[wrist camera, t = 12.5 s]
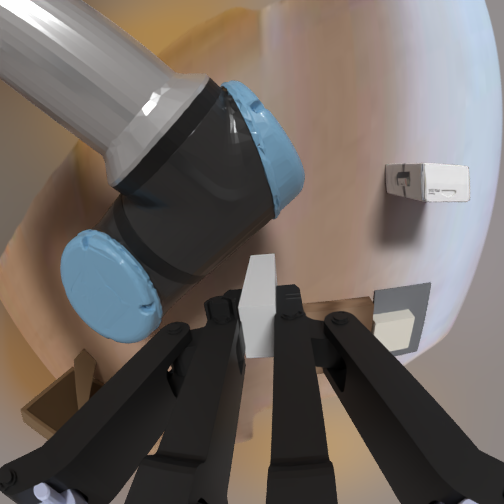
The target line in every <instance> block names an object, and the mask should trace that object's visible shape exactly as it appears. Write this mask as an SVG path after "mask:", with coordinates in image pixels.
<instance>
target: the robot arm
mask: <svg viewBox="0 0 504 504" xmlns="http://www.w3.org/2000/svg"><path fill="white" fill-rule="evenodd" d="M0 79H1V80H2V81H4V82H5V83H6V84H8V85H9V86H10V87H12V88H13V89H14V90H15V91H17V92H18V93H19V94H21V95H22V96H23V97H25V98H26V99H27V100H28V101H30V102H31V103H32V104H34V105H35V106H36V107H38V108H39V109H40V110H42V111H43V112H44V113H46V114H47V115H48V116H50V117H51V118H52V119H54V120H55V121H57V122H58V123H59V124H60V125H62V126H63V127H64V128H66V129H67V130H68V131H70V132H71V133H72V134H74V135H75V136H76V137H78V138H79V139H80V140H82V141H83V142H84V143H86V144H87V145H88V146H90V147H91V148H93V149H94V150H95V151H97V152H98V153H99V154H101V155H102V156H103V158H104V161H105V165H106V172H107V180H108V184H109V185H110V186H111V187H113V188H114V189H115V190H117V191H118V192H120V193H121V194H120V195H119V197H118V198H117V199H116V200H115V202H114V203H113V204H112V206H111V207H110V208H109V210H108V211H107V212H106V214H105V215H104V217H103V218H102V219H101V221H100V222H99V223H98V224H97V225H96V226H95V227H94V228H92V229H89V230H85V231H82V232H81V233H78V235H77V236H76V237H75V238H73V239H72V240H71V241H70V242H69V243H68V244H67V245H66V247H65V249H64V251H63V254H62V258H61V266H60V270H61V279H62V283H63V285H64V288H65V291H66V295H67V297H68V299H69V301H70V303H71V305H72V306H73V308H74V310H75V311H76V312H77V314H78V315H79V316H80V317H81V319H82V320H83V321H84V322H85V323H86V324H87V325H88V326H89V327H91V328H92V329H93V330H94V331H96V332H97V333H99V334H100V335H102V336H104V337H106V338H108V339H113V340H114V341H116V342H120V343H135V342H139V341H142V340H143V339H145V338H147V337H148V336H149V335H150V334H151V332H153V331H154V330H156V329H157V328H158V327H159V325H160V322H161V321H162V320H161V319H162V317H163V316H164V314H165V313H166V312H167V311H168V310H169V309H170V308H171V307H172V306H173V305H174V304H175V303H176V302H177V301H178V300H179V299H180V298H181V297H182V296H183V295H185V294H186V293H187V292H188V291H189V290H190V289H191V288H192V287H194V286H195V285H196V284H197V283H198V282H199V281H200V280H201V279H202V278H203V277H205V276H206V275H207V274H209V273H210V272H211V271H212V270H214V269H215V268H216V267H217V266H218V265H219V264H220V263H222V262H223V261H224V260H225V259H226V258H227V257H229V256H230V255H231V254H232V253H233V252H234V251H235V250H237V249H238V248H239V247H240V246H241V245H242V244H244V243H245V242H246V241H247V240H248V239H249V238H250V237H252V236H253V235H254V234H255V233H256V232H257V231H259V230H260V229H261V228H262V227H263V226H264V225H266V224H267V223H268V222H269V221H270V220H271V219H276V218H277V217H278V215H279V214H280V211H281V210H282V209H283V208H284V207H285V206H286V205H288V204H289V203H290V202H291V201H292V200H293V199H294V198H295V197H296V196H297V195H298V194H299V193H300V192H301V190H302V188H303V184H304V180H305V174H304V169H303V166H302V163H301V160H300V158H299V156H298V154H297V152H296V150H295V148H294V146H293V144H292V143H291V141H290V139H289V138H288V136H287V135H286V133H285V132H284V130H283V129H282V127H281V126H280V124H279V123H278V121H277V120H276V119H275V117H274V116H273V115H272V114H271V112H270V111H269V110H267V109H265V108H264V106H263V104H262V103H261V102H260V100H259V99H258V98H257V96H256V95H255V94H254V93H253V92H252V91H251V90H250V89H249V88H248V87H246V86H245V85H244V84H242V83H241V82H239V81H233V80H232V81H229V82H224V83H223V84H222V85H221V87H219V86H218V85H217V84H216V83H215V82H214V81H213V80H212V79H211V78H210V77H209V76H208V75H207V74H181V73H176V72H174V71H173V70H172V69H171V68H170V67H169V66H167V65H166V64H165V63H164V62H163V61H162V60H160V59H159V58H158V57H157V56H156V55H154V54H153V53H152V52H151V51H150V50H148V49H147V48H146V47H145V46H143V45H142V44H141V43H140V42H138V41H137V40H136V39H135V38H133V37H132V36H131V35H129V34H128V33H127V32H126V31H124V30H123V29H122V28H120V27H119V26H117V25H116V24H115V23H113V22H112V21H111V20H109V19H108V18H107V17H105V16H104V15H102V14H101V13H100V12H98V11H97V10H95V9H94V8H92V7H91V6H89V5H88V4H86V3H85V2H83V1H82V0H0ZM204 306H205V311H206V316H207V320H208V321H207V323H206V326H205V327H202V328H198V329H193V330H190V327H189V325H188V324H187V323H183V322H175V323H174V322H173V323H171V324H168V325H166V326H165V327H163V328H162V329H161V330H160V331H159V332H158V333H157V334H156V335H155V336H154V337H153V338H152V339H151V340H150V341H149V342H148V343H147V344H146V345H144V346H143V347H142V348H141V349H140V350H139V351H138V352H137V353H136V354H135V355H134V356H133V357H132V358H131V359H130V360H129V361H128V362H127V363H126V364H125V365H124V366H123V367H122V368H121V369H120V370H119V371H118V372H117V373H116V374H115V375H114V376H113V377H112V378H111V379H110V380H109V381H108V382H106V383H105V384H104V385H103V386H102V387H101V388H100V389H99V390H98V391H97V392H96V393H95V394H94V395H93V396H92V397H91V398H90V399H89V400H88V401H87V402H86V403H85V404H84V405H83V406H82V407H81V408H80V409H79V410H78V411H77V412H76V413H75V414H74V415H73V416H72V417H71V418H70V419H69V420H68V421H67V422H66V423H65V424H64V425H63V426H62V427H61V428H60V429H59V430H58V431H57V432H56V433H55V434H54V435H53V436H52V437H51V438H50V439H49V440H48V441H47V442H46V443H45V444H44V445H43V446H42V447H40V448H38V449H36V450H34V451H32V452H30V453H28V454H26V455H24V456H22V457H20V458H18V459H16V460H13V461H11V462H9V463H7V464H5V465H4V466H2V467H1V468H0V491H2V493H4V494H5V495H6V496H7V497H9V498H10V499H12V500H13V501H14V502H16V503H17V504H109V503H110V502H111V501H112V500H113V499H114V498H115V496H116V495H117V494H118V493H119V492H120V490H121V489H122V488H123V486H124V485H125V484H126V482H127V481H128V480H129V479H130V477H131V476H132V475H133V473H134V472H135V471H136V469H137V468H138V470H137V472H136V475H135V477H134V480H133V482H132V485H131V487H130V490H129V493H128V495H127V498H126V500H125V503H124V504H228V501H227V490H228V483H229V477H230V471H231V464H232V457H233V451H234V444H235V437H236V430H237V423H238V416H239V409H240V402H241V395H242V388H243V381H244V374H245V367H246V364H245V359H244V355H245V352H246V358H262V357H274V374H273V413H272V415H273V416H272V441H271V462H270V466H269V469H268V479H267V495H266V504H338V502H337V492H336V483H335V475H334V468H333V464H332V462H331V461H330V460H329V455H328V448H327V441H326V433H325V426H324V418H323V411H322V404H321V398H320V391H319V385H318V379H317V373H316V367H322V369H323V372H324V374H325V376H326V377H327V379H328V381H329V382H330V384H331V386H332V388H333V389H334V391H335V393H336V394H337V396H338V398H339V399H340V401H341V403H342V405H343V406H344V408H345V410H346V411H347V413H348V415H349V416H350V418H351V420H352V422H353V423H354V425H355V427H356V428H357V430H358V432H359V434H360V435H361V437H362V438H363V440H364V442H365V444H366V445H367V447H368V449H369V451H370V452H371V454H372V456H373V457H374V459H375V461H376V462H377V464H378V466H379V468H380V469H381V471H382V473H383V474H384V476H385V478H386V479H387V481H388V483H389V485H390V486H391V488H392V490H393V491H394V493H395V495H396V497H397V498H398V500H399V501H400V503H401V504H504V462H502V461H500V460H498V459H496V458H494V457H492V456H489V455H488V454H486V453H484V452H482V451H480V450H479V449H478V448H477V447H476V446H475V445H474V444H473V442H472V441H471V440H470V439H469V438H468V437H467V435H466V434H465V433H464V432H463V431H462V430H461V428H460V427H459V426H458V425H457V424H456V423H455V422H454V420H453V419H452V418H451V417H450V416H449V415H448V414H447V413H446V412H445V411H444V409H443V408H442V407H441V406H440V405H439V404H438V403H437V402H436V401H435V399H434V398H433V397H432V396H431V395H430V394H429V393H428V392H427V391H426V390H425V389H424V387H423V386H422V385H421V384H420V383H419V382H418V381H417V380H416V379H415V378H414V377H413V376H412V375H411V373H410V372H409V371H408V370H407V369H406V368H405V367H404V366H403V365H402V364H401V363H400V362H399V361H398V360H397V359H396V358H395V357H394V356H393V355H392V353H391V352H390V351H389V350H388V349H387V348H386V347H385V346H384V345H383V344H382V343H381V342H380V341H379V340H378V339H377V338H376V337H375V336H374V335H373V334H372V333H371V332H370V331H369V330H368V329H367V328H366V327H365V326H364V325H363V324H362V323H361V322H360V321H359V320H358V319H357V318H356V317H355V316H354V315H353V314H351V313H349V312H345V311H336V312H332V313H329V314H328V315H327V316H325V318H324V321H321V320H314V319H311V318H309V317H307V316H306V313H305V312H304V310H303V305H302V299H301V294H300V289H299V288H298V287H297V286H296V285H295V284H292V285H281V286H277V275H276V264H275V253H274V254H262V255H251V256H250V260H249V265H248V269H247V273H246V277H245V281H244V285H243V289H237V290H228V291H227V292H226V293H225V294H224V295H223V296H218V297H214V298H211V299H209V300H207V301H206V302H205V303H204ZM170 365H171V367H172V369H171V370H170V371H169V372H168V368H169V367H170ZM164 431H165V432H164ZM163 432H164V434H163ZM162 434H163V437H162V440H161V442H160V445H159V448H158V450H157V452H156V453H155V454H154V455H147V454H148V453H149V452H150V450H151V449H152V447H153V446H154V445H155V443H156V442H157V440H158V439H159V438H160V436H161V435H162ZM138 466H139V467H138Z"/></svg>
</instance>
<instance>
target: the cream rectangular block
mask: <svg viewBox="0 0 504 504" xmlns="http://www.w3.org/2000/svg"><path fill="white" fill-rule="evenodd" d="M414 320H415V317H414V315H413V314H412V313H411V312H410V310H409V309H406V310H400V311H394V312H388V313H381V314H374V315H373V321H372V329H371V333H372V334H373V335H374V336H375V337H376V338H377V339H378V340H379V341H380V342H381V343H382V344H383V345H384V346H385V347H386V348H387V349H388V350H389V351H395V350H400V349H405V348H408V346H409V342H410V338H411V333H412V329H413V324H414Z"/></svg>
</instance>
